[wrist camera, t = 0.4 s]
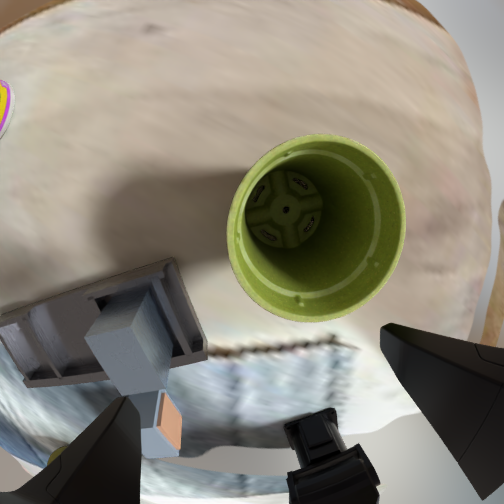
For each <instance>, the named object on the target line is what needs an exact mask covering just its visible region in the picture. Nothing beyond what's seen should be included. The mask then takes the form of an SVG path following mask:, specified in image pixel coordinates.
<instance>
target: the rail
mask: <svg viewBox="0 0 504 504" xmlns="http://www.w3.org/2000/svg"><path fill="white" fill-rule="evenodd" d="M0 339H1V341H2V343H3V345H4V346H5V348H6V350H7V351H8V353H9V355H10V356H11V358H12V359H13V361H14V363H15V364H16V366H17V367H18V369H19V370H20V372H21V373H22V375H23V376H24V377H25V378H24V380H23V382H24V384H25V385H26V387H27V388H35V387H50V386H62V385H72V384H80V383H89V382H96V381H103V380H111V381H112V383H113V384H114V385H115V387H116V388H117V390H118V391H119V392H120V394H121V395H122V396H124V395H131V394H138V393H145V392H151V391H157V390H162V389H166V388H167V381H168V375H169V369H170V368H175V367H179V366H183V365H188V364H192V363H196V362H200V361H204V360H208V356H207V339H206V337H205V334H204V332H203V330H202V327H201V325H200V323H199V320H198V318H197V315H196V313H195V311H194V308H193V306H192V303H191V301H190V298H189V296H188V293H187V291H186V288H185V286H184V283H183V280H182V278H181V275H180V273H179V270H178V267H177V264H176V262H175V259H174V257H172V258H169V259H166V260H162V261H159V262H156V263H153V264H150V265H147V266H144V267H141V268H137V269H134V270H131V271H128V272H125V273H122V274H119V275H116V276H113V277H110V278H107V279H104V280H101V281H98V282H95V283H92V284H89V285H86V286H83V287H80V288H77V289H74V290H71V291H68V292H65V293H62V294H59V295H56V296H53V297H51V298H48V299H45V300H42V301H39V302H36V303H33V304H30V305H28V306H25V307H22V308H19V309H16V310H14V311H11V312H8V313H5V314H2V315H1V316H0Z"/></svg>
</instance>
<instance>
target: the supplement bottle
mask: <svg viewBox="0 0 504 504" xmlns="http://www.w3.org/2000/svg"><path fill="white" fill-rule="evenodd" d="M14 103H15V95H14V90H13V88H12V86H11V85H10V84H9V83H7V82H5V81H2V80H0V138H1V137H2V136H3V134H4V133H5V131H6V129H7V127H8V125H9V123H10V120H11V117H12V114H13V110H14Z"/></svg>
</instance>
